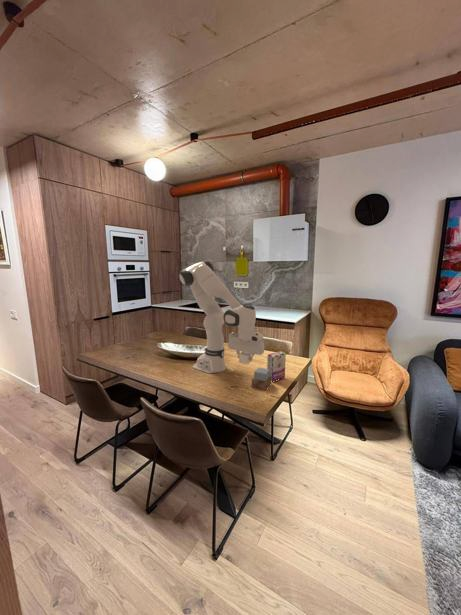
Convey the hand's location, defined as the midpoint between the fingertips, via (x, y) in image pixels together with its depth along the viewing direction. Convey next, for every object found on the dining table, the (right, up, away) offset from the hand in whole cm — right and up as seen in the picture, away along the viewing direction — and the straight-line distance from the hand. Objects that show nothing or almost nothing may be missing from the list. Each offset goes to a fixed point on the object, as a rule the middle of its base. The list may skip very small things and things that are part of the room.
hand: (245, 359), depth 140 cm
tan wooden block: (+10, -18, +10) cm, 22 cm away
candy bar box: (+20, -16, +18) cm, 32 cm away
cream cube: (0, -2, 0) cm, 2 cm away
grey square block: (+10, -13, +9) cm, 19 cm away
